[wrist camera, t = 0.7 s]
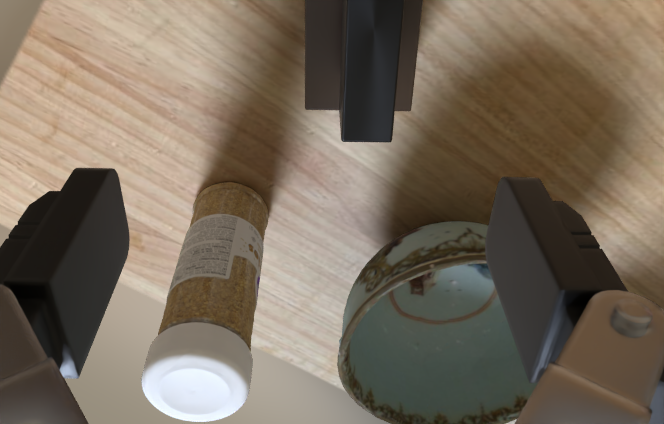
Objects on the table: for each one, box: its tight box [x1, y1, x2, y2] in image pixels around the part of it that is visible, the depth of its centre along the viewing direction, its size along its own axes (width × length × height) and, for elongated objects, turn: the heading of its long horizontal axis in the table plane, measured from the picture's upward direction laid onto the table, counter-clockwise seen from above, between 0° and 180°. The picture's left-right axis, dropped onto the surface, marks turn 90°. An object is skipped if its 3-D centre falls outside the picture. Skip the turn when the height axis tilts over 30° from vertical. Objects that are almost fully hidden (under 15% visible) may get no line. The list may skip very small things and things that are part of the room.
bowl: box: [337, 221, 538, 424], centre depth 36 cm, size 14×13×8 cm
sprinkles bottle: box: [142, 182, 269, 422], centre depth 31 cm, size 5×5×14 cm
